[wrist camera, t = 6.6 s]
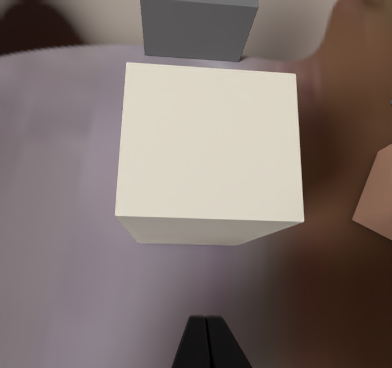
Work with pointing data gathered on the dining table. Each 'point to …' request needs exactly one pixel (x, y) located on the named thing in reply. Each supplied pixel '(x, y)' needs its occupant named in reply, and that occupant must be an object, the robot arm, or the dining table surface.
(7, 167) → the dining table surface
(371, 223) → the salmon rectangular block
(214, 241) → the cream rectangular block
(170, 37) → the block
